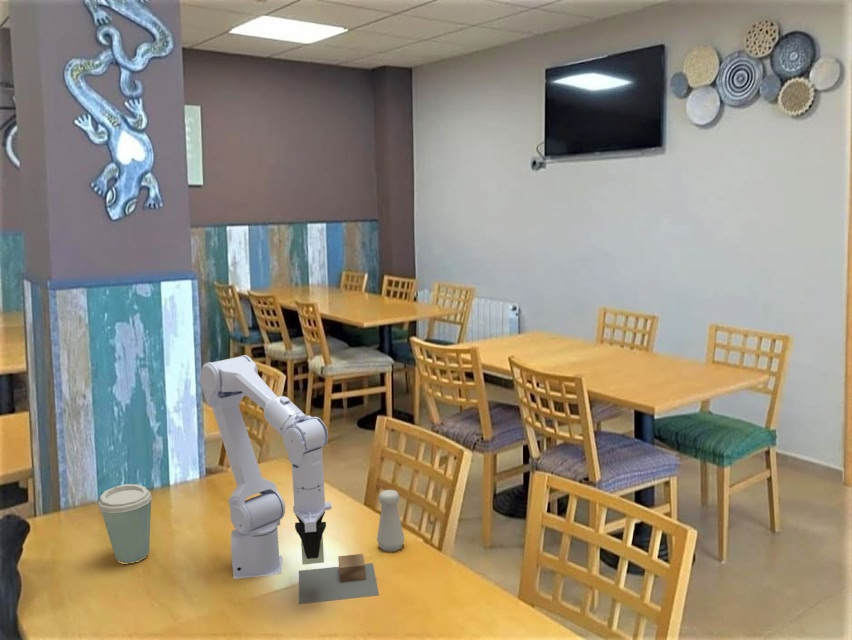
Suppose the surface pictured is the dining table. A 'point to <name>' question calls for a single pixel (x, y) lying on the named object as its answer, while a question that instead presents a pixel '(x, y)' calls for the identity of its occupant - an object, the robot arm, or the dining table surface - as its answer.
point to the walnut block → (351, 568)
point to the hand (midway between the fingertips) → (312, 552)
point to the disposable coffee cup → (127, 520)
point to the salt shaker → (390, 522)
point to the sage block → (313, 560)
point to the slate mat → (334, 585)
